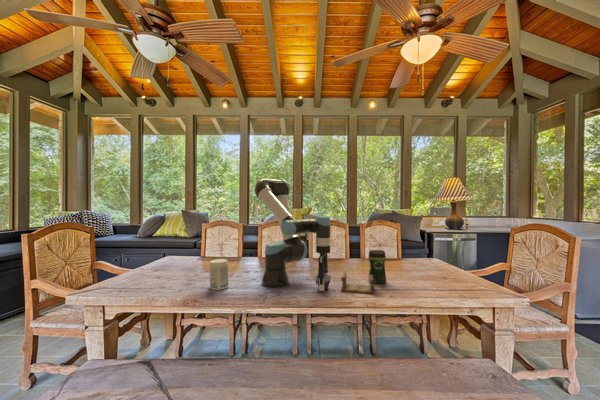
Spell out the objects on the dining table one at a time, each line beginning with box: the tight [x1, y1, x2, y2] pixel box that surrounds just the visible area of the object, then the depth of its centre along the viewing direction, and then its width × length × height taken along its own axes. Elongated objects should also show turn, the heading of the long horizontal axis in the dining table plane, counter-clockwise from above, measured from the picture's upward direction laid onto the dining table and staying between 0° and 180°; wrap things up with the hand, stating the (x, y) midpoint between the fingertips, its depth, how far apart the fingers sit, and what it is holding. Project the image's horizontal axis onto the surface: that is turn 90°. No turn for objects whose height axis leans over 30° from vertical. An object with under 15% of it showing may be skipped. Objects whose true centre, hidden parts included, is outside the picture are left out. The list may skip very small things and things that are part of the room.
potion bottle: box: [315, 267, 332, 292], centre depth 147 cm, size 9×9×12 cm
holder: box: [340, 272, 375, 295], centre depth 147 cm, size 17×10×7 cm, turn 75°
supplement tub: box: [209, 258, 229, 291], centre depth 150 cm, size 10×10×15 cm
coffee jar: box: [368, 249, 387, 285], centre depth 160 cm, size 10×8×19 cm
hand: (323, 287), depth 147 cm, fingers closed on potion bottle, 8 cm apart
